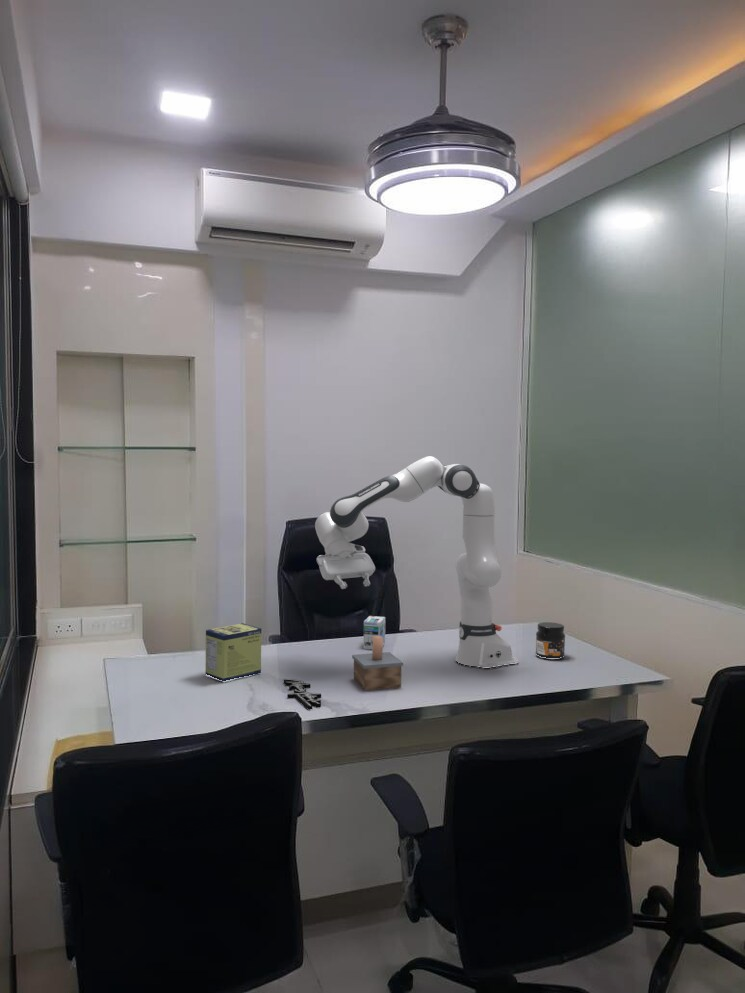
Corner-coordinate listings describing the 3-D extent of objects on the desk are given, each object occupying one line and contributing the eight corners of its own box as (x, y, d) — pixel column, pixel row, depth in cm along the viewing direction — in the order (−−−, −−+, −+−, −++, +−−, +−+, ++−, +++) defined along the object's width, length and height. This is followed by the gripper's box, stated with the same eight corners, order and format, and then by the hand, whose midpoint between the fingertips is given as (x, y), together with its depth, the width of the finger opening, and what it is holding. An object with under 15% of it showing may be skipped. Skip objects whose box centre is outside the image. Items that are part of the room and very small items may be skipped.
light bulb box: (380, 650, 284) (380, 622, 283) (362, 649, 285) (363, 621, 285) (385, 643, 294) (386, 616, 294) (368, 642, 296) (369, 615, 295)
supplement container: (535, 659, 275) (535, 627, 274) (535, 652, 285) (536, 620, 285) (564, 662, 273) (565, 629, 272) (564, 654, 283) (565, 622, 282)
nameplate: (272, 680, 241) (301, 677, 245) (272, 685, 241) (301, 681, 245) (301, 707, 216) (333, 703, 220) (301, 712, 216) (333, 708, 221)
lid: (389, 659, 252) (389, 631, 251) (403, 670, 239) (403, 640, 239) (352, 662, 248) (352, 633, 247) (364, 673, 235) (364, 643, 235)
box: (388, 676, 251) (388, 655, 251) (400, 687, 240) (401, 665, 240) (353, 679, 248) (354, 658, 247) (364, 690, 236) (365, 668, 236)
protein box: (261, 673, 252) (262, 627, 251) (223, 683, 241) (223, 635, 240) (242, 667, 259) (243, 622, 258) (204, 676, 248) (204, 629, 247)
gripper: (318, 550, 251) (334, 583, 244) (367, 546, 263) (384, 578, 256) (311, 561, 255) (326, 595, 248) (360, 557, 267) (376, 589, 260)
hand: (356, 586), depth 252 cm, fingers open, 8 cm apart
